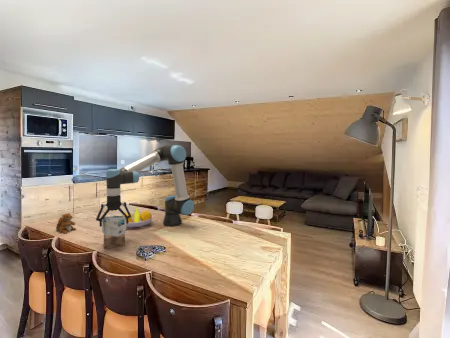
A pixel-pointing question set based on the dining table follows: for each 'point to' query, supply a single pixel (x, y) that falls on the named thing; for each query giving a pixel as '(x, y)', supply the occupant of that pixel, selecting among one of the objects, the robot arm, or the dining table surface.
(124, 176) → the robot arm
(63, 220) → the stuffed squirrel
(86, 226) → the dining table surface
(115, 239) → the walnut step
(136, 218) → the fruit bowl
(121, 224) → the light bulb box
